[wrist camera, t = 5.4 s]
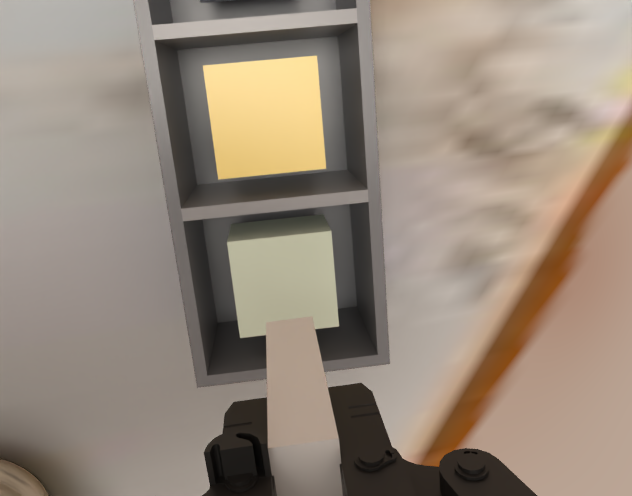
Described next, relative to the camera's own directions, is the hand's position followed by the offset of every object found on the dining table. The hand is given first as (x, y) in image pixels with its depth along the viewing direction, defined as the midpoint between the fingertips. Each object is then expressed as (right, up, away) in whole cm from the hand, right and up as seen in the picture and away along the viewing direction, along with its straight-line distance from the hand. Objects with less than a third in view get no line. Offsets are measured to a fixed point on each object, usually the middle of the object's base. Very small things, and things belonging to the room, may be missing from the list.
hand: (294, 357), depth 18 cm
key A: (-1, +3, +13) cm, 13 cm away
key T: (-2, +10, +10) cm, 15 cm away
